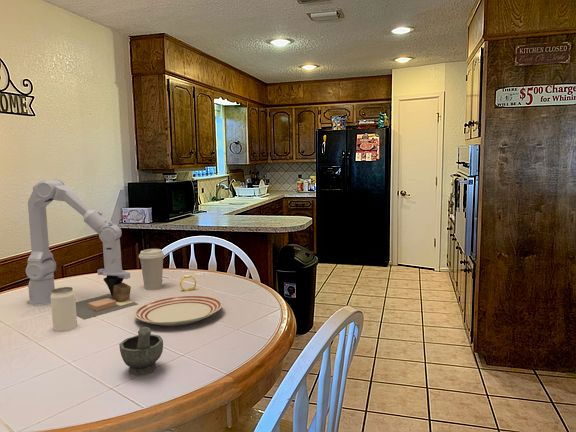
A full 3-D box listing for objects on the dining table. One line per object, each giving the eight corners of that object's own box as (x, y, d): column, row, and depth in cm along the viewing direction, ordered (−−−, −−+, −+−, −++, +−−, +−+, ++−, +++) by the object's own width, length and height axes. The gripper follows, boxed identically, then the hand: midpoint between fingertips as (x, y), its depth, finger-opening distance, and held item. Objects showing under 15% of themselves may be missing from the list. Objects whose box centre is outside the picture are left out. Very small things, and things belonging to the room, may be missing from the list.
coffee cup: (155, 283, 179) (153, 247, 177) (171, 287, 174) (169, 249, 172) (135, 289, 172) (133, 251, 170) (150, 293, 166) (148, 254, 164)
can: (67, 333, 128) (64, 293, 127) (48, 332, 130) (44, 292, 128) (82, 325, 135) (79, 287, 133) (63, 324, 136) (60, 286, 135)
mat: (57, 307, 151) (57, 306, 151) (110, 294, 166) (110, 293, 166) (84, 320, 138) (84, 319, 138) (139, 305, 153) (139, 303, 153)
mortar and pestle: (119, 366, 107) (115, 318, 105) (158, 357, 111) (155, 311, 110) (126, 386, 97) (123, 334, 96) (169, 375, 102) (166, 325, 100)
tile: (87, 303, 149) (96, 306, 145) (107, 297, 154) (116, 301, 151) (88, 308, 149) (96, 311, 146) (108, 302, 155) (116, 306, 151)
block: (112, 297, 156) (114, 285, 155) (121, 294, 160) (123, 282, 158) (120, 302, 155) (122, 289, 153) (129, 299, 158) (131, 286, 157)
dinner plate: (118, 318, 141) (117, 308, 141) (190, 297, 161) (190, 288, 160) (165, 340, 122) (164, 329, 122) (240, 314, 142) (239, 304, 142)
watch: (181, 292, 167) (179, 277, 166) (180, 290, 170) (178, 275, 169) (197, 290, 169) (195, 275, 168) (196, 288, 172) (194, 273, 171)
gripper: (89, 259, 156) (92, 296, 158) (117, 263, 150) (120, 302, 151) (105, 255, 162) (108, 291, 164) (133, 259, 156) (136, 296, 157)
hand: (115, 296), depth 158 cm, fingers closed
